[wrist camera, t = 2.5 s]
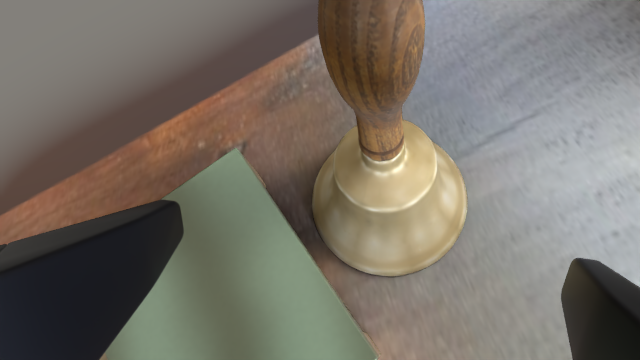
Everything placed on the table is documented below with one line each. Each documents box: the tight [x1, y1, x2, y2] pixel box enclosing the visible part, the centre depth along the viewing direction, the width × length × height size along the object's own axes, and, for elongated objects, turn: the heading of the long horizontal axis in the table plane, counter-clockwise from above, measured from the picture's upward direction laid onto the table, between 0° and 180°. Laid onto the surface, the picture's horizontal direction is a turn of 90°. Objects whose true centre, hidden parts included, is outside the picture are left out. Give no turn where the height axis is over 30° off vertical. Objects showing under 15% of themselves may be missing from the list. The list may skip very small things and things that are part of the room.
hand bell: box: [312, 0, 467, 276], centre depth 14 cm, size 8×8×16 cm
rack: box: [100, 148, 381, 360], centre depth 19 cm, size 18×12×4 cm, turn 124°
